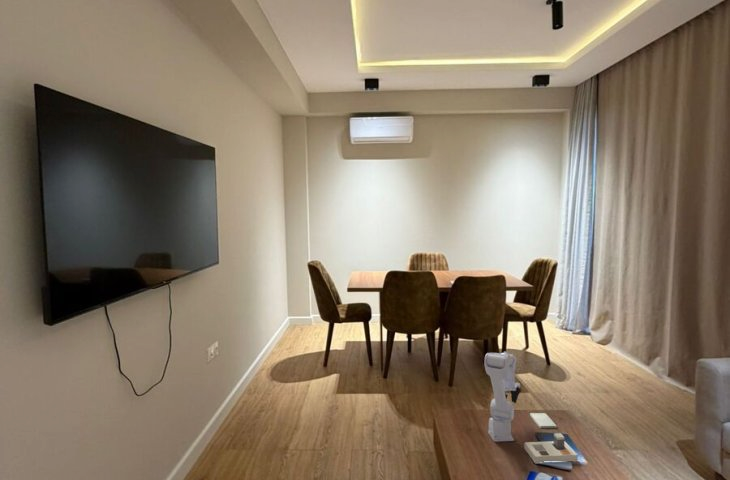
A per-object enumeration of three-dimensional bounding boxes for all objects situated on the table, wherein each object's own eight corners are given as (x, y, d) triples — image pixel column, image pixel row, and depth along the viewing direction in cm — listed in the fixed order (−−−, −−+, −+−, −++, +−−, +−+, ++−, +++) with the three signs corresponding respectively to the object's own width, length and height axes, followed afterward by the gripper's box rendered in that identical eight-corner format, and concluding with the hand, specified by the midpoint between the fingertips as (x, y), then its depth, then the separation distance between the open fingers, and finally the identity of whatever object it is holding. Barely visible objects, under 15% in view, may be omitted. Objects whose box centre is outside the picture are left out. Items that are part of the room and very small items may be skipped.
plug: (557, 455, 162) (557, 437, 162) (553, 451, 165) (553, 433, 165) (564, 455, 162) (564, 437, 162) (560, 450, 165) (560, 433, 165)
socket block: (535, 463, 157) (535, 455, 157) (524, 448, 167) (524, 441, 167) (577, 461, 157) (577, 454, 157) (564, 447, 167) (564, 440, 167)
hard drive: (557, 426, 183) (545, 412, 195) (540, 426, 183) (529, 412, 195) (557, 429, 183) (545, 415, 195) (540, 429, 183) (529, 416, 195)
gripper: (504, 383, 181) (504, 411, 182) (525, 377, 188) (525, 403, 188) (493, 378, 187) (493, 405, 188) (513, 372, 194) (513, 398, 195)
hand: (508, 404), depth 188 cm, fingers open, 7 cm apart
